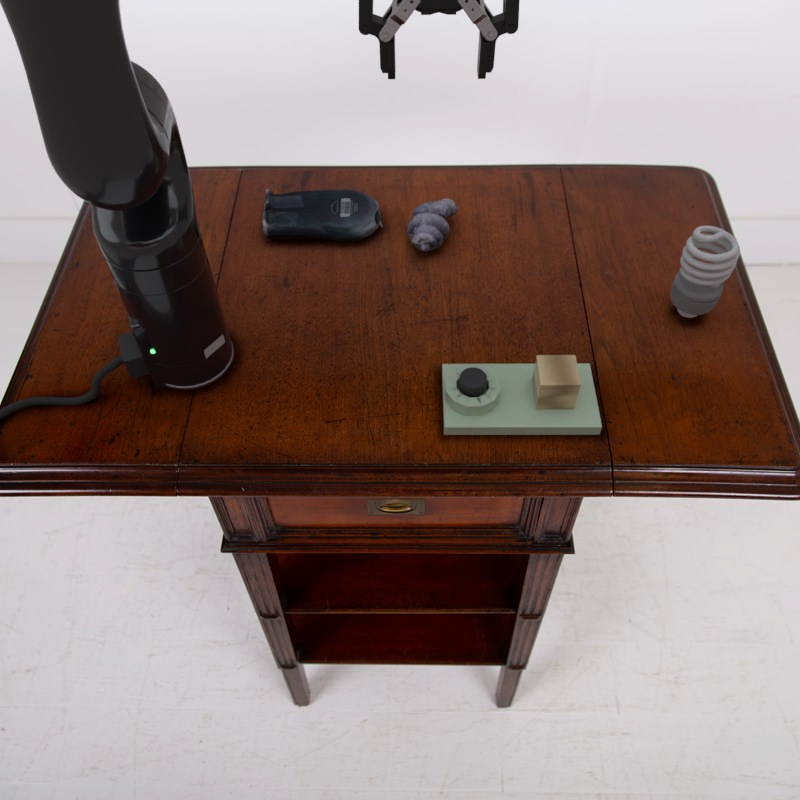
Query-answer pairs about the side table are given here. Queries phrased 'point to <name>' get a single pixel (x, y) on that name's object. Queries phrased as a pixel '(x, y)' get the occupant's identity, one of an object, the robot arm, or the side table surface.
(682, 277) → the light bulb
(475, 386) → the button
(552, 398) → the block
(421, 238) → the seashell
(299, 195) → the electronic device
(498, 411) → the pale green flat block
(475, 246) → the side table surface
